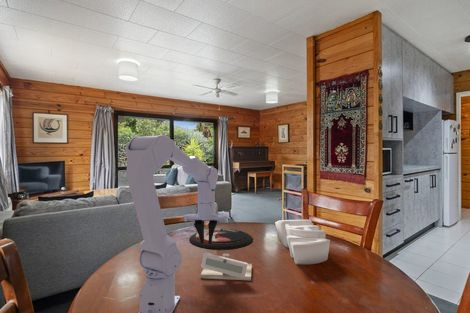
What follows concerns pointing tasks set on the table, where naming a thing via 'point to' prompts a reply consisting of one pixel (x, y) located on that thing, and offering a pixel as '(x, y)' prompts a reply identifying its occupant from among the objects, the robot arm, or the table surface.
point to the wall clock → (222, 239)
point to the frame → (224, 265)
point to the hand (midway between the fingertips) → (206, 242)
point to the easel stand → (217, 275)
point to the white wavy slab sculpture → (303, 241)
